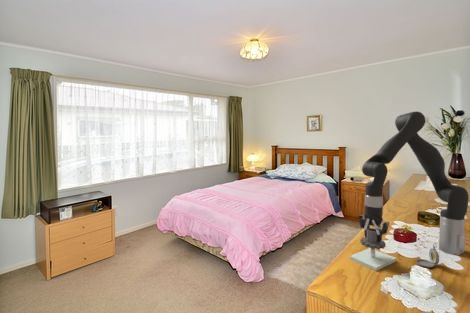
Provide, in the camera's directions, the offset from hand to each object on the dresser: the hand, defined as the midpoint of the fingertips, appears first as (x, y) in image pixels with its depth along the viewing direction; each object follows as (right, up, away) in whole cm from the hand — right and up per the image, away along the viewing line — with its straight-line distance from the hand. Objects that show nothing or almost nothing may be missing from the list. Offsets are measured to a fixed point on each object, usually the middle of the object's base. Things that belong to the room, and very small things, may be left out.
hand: (372, 239), depth 122 cm
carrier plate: (0, -10, +1) cm, 10 cm away
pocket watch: (+22, -10, -5) cm, 25 cm away
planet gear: (0, -2, 0) cm, 2 cm away
